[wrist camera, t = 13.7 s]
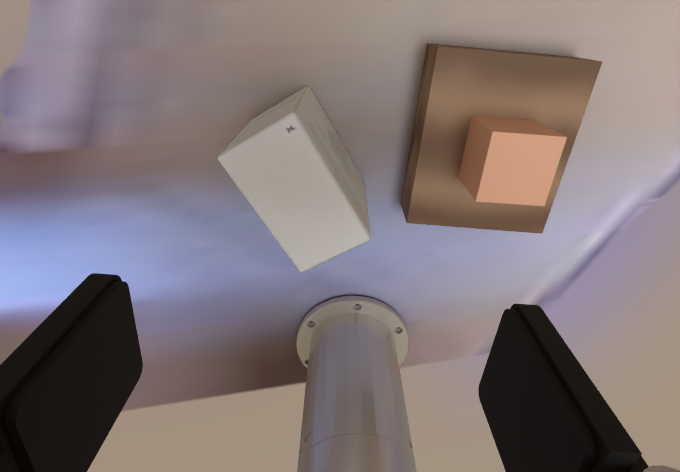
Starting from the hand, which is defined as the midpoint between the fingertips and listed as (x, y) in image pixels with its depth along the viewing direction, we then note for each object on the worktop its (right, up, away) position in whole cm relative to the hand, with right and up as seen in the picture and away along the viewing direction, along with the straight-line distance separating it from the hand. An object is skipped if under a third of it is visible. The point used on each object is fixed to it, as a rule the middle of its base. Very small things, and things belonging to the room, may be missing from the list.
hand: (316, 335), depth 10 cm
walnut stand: (+13, +11, +26) cm, 31 cm away
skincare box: (-2, +10, +27) cm, 29 cm away
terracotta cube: (+13, +9, +22) cm, 28 cm away
